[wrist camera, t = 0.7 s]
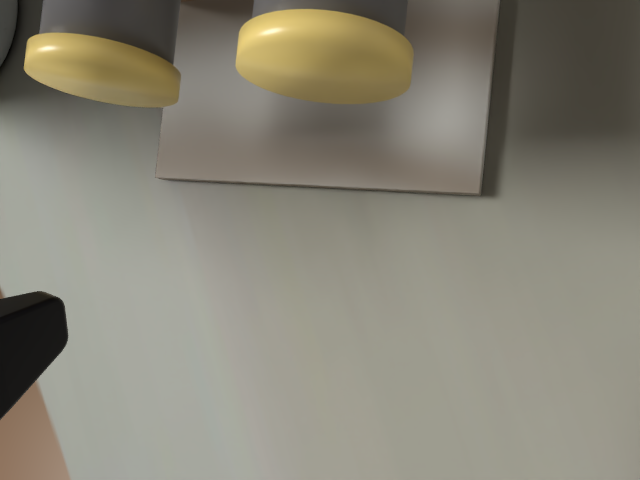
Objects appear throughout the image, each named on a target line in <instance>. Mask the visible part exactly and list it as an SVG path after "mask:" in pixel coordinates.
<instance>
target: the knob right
mask: <svg viewBox="0 0 640 480" xmlns="http://www.w3.org/2000/svg"><path fill="white" fill-rule="evenodd" d="M407 6H408V0H254V5H253V14H252V19H250V20H249V21H247V22H246V23H245V24H244V25H243V26H242V27H241V29H240V31H239V37H238V46H237V55H236V65H235V66H236V69H237V71H238V72H239V74H240V75H241V76H242V77H244V78H245V79H246V80H248V81H249V82H251V83H253V84H254V85H256V86H258V87H261V88H263V89H265V90H268V91H271V92H274V93H277V94H280V95H283V96H287V97H291V98H296V99H301V100H306V101H313V102H320V103H331V104H366V103H375V102H381V101H386V100H389V99H393V98H395V97H398V96H400V95H402V94H403V93H405V92H406V91H407V90H408V89H409V87H410V84H411V76H412V66H413V56H414V51H413V48H412V45H411V44H410V42H409V41H408V40H407V39H406V38H405V37H404V35H405V25H406V15H407Z"/></svg>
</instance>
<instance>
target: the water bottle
mask: <svg viewBox="0 0 640 480" xmlns="http://www.w3.org/2000/svg"><path fill="white" fill-rule="evenodd" d="M17 13H18V11H17V0H0V66H1V65H2V63H3V61H4V59H5V58H6V55H7V53H8V51H9V48H10V46H11V43H12V40H13V36H14V32H15V28H16V21H17Z"/></svg>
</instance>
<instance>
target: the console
mask: <svg viewBox="0 0 640 480" xmlns="http://www.w3.org/2000/svg"><path fill="white" fill-rule="evenodd" d="M253 5H254V0H181V4H180V12H179V21H178V30H177V38H176V47H175V55H174V64H173V65H174V66H175V67H176V68H177V69H178V70H179V72H180V73H181V82H180V91H179V99H178V102H177V103H176V104H174V105H171V106H166V107H163V113H162V122H161V130H160V139H159V148H158V156H157V165H156V173H155V177H156V178H159V179H163V180H182V181H202V182H221V183H241V184H260V185H280V186H299V187H319V188H338V189H358V190H377V191H397V192H416V193H436V194H455V195H475V196H481V189H482V179H483V169H484V159H485V149H486V138H487V128H488V118H489V108H490V98H491V88H492V77H493V67H494V57H495V47H496V37H497V27H498V17H499V6H500V0H408V6H407V15H406V25H405V35H404V37H405V38H406V39H407V40H408V41H409V42H410V44H411V45H412V48H413V51H414V56H413V66H412V76H411V84H410V87H409V89H408V90H407V91H406V92H405V93H403V94H402V95H400V96H398V97H395V98H393V99H389V100H386V101H381V102H375V103H366V104H331V103H320V102H313V101H306V100H301V99H296V98H291V97H287V96H283V95H280V94H277V93H274V92H271V91H268V90H265V89H263V88H261V87H258V86H256V85H254V84H253V83H251V82H249V81H248V80H246V79H245V78H244V77H242V76H241V75H240V74H239V72H238V71H237V69H236V66H235V65H236V55H237V46H238V37H239V31H240V29H241V27H242V26H243V25H244V24H245V23H246V22H247V21H249V20H250V19H252V14H253Z"/></svg>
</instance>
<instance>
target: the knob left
mask: <svg viewBox="0 0 640 480" xmlns="http://www.w3.org/2000/svg"><path fill="white" fill-rule="evenodd" d="M180 4H181V0H43V6H42V15H41V23H40V31H39V34H38V35H34V36H32V37H30V38H29V39H28V41H27V47H26V55H25V63H24V70H25V72H26V73H27V74H28V75H29V76H30V77H32V78H33V79H35V80H37V81H38V82H40V83H42V84H45V85H47V86H49V87H52V88H54V89H57V90H60V91H62V92H65V93H69V94H72V95H75V96H79V97H83V98H87V99H91V100H95V101H100V102H105V103H110V104H116V105H123V106H132V107H148V108H155V107H166V106H171V105H174V104H176V103H177V102H178V99H179V91H180V82H181V73H180V72H179V70H178V69H177V68H176V67H175V66H174V65H173V64H174V55H175V47H176V38H177V30H178V21H179V12H180Z"/></svg>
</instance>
